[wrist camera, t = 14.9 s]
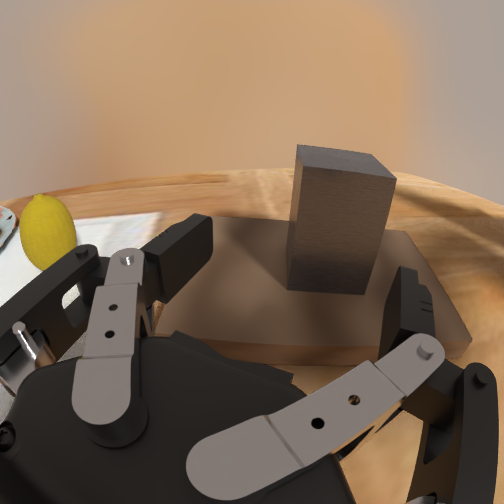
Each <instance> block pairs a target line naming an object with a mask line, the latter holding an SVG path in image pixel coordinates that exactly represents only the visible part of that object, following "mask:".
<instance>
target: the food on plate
mask: <svg viewBox="0 0 504 504" xmlns="http://www.w3.org/2000/svg"><path fill="white" fill-rule="evenodd" d="M11 215H12V218H11V219H9V220H7V219H8V217H10V216H11ZM16 219H17V217H16V215H15V214H13V212H11V211H10V209H7V208H5V207H2V206H0V247H1V246H2V245H3V244H4V243H3V242H4V241H5V240H6V238H7V237H8V236H9V235H10V233H12V229H13V228H15V227H16V225H15V223H16Z"/></svg>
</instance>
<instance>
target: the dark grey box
mask: <svg viewBox="0 0 504 504" xmlns="http://www.w3.org/2000/svg"><path fill="white" fill-rule="evenodd" d="M396 180H397V178H396V177H395V176H394V175H393V174H392V173H391V172H389V171H388V170H387V169H386V168H385V167H384V166H383V165H382V164H381V163H380V162H379V161H378V160H377V159H376V158H375V157H373V156H372V155H371V154H366V153H360V152H354V151H347V150H340V149H332V148H324V147H315V146H307V145H297V151H296V162H295V172H294V182H293V191H292V200H291V209H290V218H289V227H288V235H287V244H286V266H287V290H290V291H304V292H318V293H333V294H350V295H365V292H366V289H367V286H368V283H369V280H370V276H371V273H372V270H373V267H374V264H375V261H376V257H377V254H378V250H379V247H380V244H381V240H382V236H383V233H384V229H385V225H386V222H387V218H388V214H389V210H390V206H391V202H392V198H393V193H394V189H395V185H396Z"/></svg>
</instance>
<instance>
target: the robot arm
mask: <svg viewBox="0 0 504 504" xmlns="http://www.w3.org/2000/svg"><path fill="white" fill-rule="evenodd" d="M212 253H213V220H212V218H211V217H209V216H205V215H201V214H196V213H195V214H193V215H191V216H190V217H189V218H187V219H186V220H184V221H182V222H179V223H177V224H174V225H172V226H170V227H169V228H167V229H166V230H165V231H164V232H162V233H161V234H159V236H157V237H155V238H154V239H152V240H151V241H150V242H148V243H147V244H146V245H144V246H143V247H142V248H140V249H136V248H126V249H122V250H119V251H117V252H116V253H114V254H113V255H112V256H111V257H100V256H99V255H98V250H97V247H96V246H94V245H91V244H85V245H80V246H78V247H75V248H74V249H72V250H71V251H69V252H68V253H67V254H65V255H64V256H63V257H61V258H60V259H59V260H57V261H56V262H55V263H53V264H52V265H51V266H50V267H48V268H47V269H46V270H44V271H43V272H42V273H41V274H39V275H38V276H37V277H36V278H34V279H33V280H32V281H31V282H30V283H28V284H27V285H26V286H25V287H23V288H22V289H21V290H20V291H19V292H17V293H16V294H15V295H14V296H13V297H12V298H10V299H9V300H8V301H7V302H6V303H5V304H4V305H2V306H1V307H0V384H2V385H3V386H4V388H5V389H6V390H7V391H8V392H9V393H10V395H11V396H13V397H15V400H14V402H13V405H12V407H11V409H10V411H9V413H8V415H7V417H6V418H5V420H4V422H3V423H2V424H1V425H0V504H356V502H355V499H354V497H353V494H352V492H351V490H350V487H349V485H348V482H347V480H346V477H345V475H344V473H343V470H342V468H341V465H340V463H341V462H342V461H344V460H345V459H347V458H348V457H349V456H351V455H352V454H353V453H355V452H356V451H357V450H358V449H360V448H361V447H362V446H363V445H364V444H365V443H367V442H368V441H369V440H370V439H371V438H373V437H374V436H375V435H376V434H378V433H379V432H380V431H381V430H382V429H384V428H385V427H386V426H387V425H389V424H390V423H391V422H392V421H393V420H394V419H396V418H397V417H398V416H399V415H400V414H401V413H402V412H403V411H407V412H408V413H410V414H412V415H414V416H415V417H417V418H419V419H421V420H423V421H424V422H423V429H422V435H421V441H420V446H419V451H418V456H417V461H416V465H415V470H414V474H413V478H412V482H411V486H410V490H409V493H408V497H407V500H406V503H405V504H493V500H494V493H495V485H496V476H497V464H498V442H499V418H498V396H497V383H496V379H495V376H494V374H493V373H492V371H491V370H490V369H489V368H488V367H487V366H485V365H483V364H481V363H475V362H474V363H471V364H469V365H467V367H466V368H465V369H462V368H460V367H458V366H456V365H455V364H453V363H451V362H449V361H448V360H447V359H445V351H444V348H443V346H442V345H441V343H440V342H439V341H438V340H437V339H436V335H435V322H434V314H433V312H434V311H433V306H432V305H433V302H432V295H431V293H430V291H429V290H428V288H427V286H426V285H422V284H419V281H418V271H417V270H415V269H412V268H408V267H405V266H401V265H400V266H399V267H398V270H397V272H396V275H395V278H394V280H393V283H392V286H391V288H390V291H389V294H388V296H387V299H386V302H385V306H384V312H383V321H382V330H381V339H380V346H379V353H378V360H377V362H376V363H373V362H372V361H371V360H367V361H365V362H363V363H361V364H360V365H358V366H357V367H355V368H354V369H352V370H350V371H349V372H347V373H346V374H344V375H342V376H341V377H339V378H337V379H336V380H334V381H332V382H331V383H329V384H327V385H326V386H324V387H322V388H320V389H319V390H317V391H315V392H313V393H312V394H310V395H308V396H307V395H306V394H305V393H304V392H303V391H301V390H300V389H299V388H297V387H296V386H294V385H293V384H291V382H292V379H293V375H294V374H292V373H289V372H286V371H283V370H280V369H277V368H274V367H271V366H268V365H265V364H262V363H254V362H247V361H240V360H234V359H228V358H226V357H224V356H223V355H221V354H220V353H218V352H217V351H216V350H214V349H213V348H211V347H210V346H208V345H207V344H206V343H204V342H203V341H201V340H199V339H196V338H194V337H192V336H189V335H187V334H184V333H182V332H180V331H177V330H175V331H174V333H173V334H172V335H171V336H170V337H162V336H155V332H154V305H153V303H154V302H155V301H156V300H158V301H160V302H162V303H165V304H167V303H168V302H169V301H170V300H171V299H172V298H173V297H174V296H175V295H176V294H177V293H178V292H179V291H180V290H181V289H182V288H183V287H184V286H185V285H186V284H187V283H188V282H189V281H190V280H191V279H192V278H193V277H194V276H195V275H196V274H197V273H198V272H199V271H200V270H201V268H202V267H203V266H204V265H205V264H206V263H207V262H208V261H209V260H210V258H211V256H212ZM75 284H76V285H77V287H78V290H79V293H80V295H79V296H78V297H77V298H76V299H75V300H74V301H73V302H72V303H71V304H70V305H69V306H67V307H66V308H65V309H63V306H62V298H63V296H64V294H65V293H66V292H67V291H69V290H70V289H71V288H72V287H73V286H74V285H75ZM86 330H87V334H86V339H85V345H84V351H83V355H82V356H79V357H75V358H72V359H68V360H65V361H61V362H57V361H58V360H59V359H60V358H61V357H62V356H63V355H64V353H65V352H66V351H67V350H68V349H69V348H70V347H71V346H72V345H73V344H74V343H75V342H76V341H77V340H78V339H79V337H80V336H81V335H82V334H83V333H84V332H85V331H86ZM56 362H57V363H56Z"/></svg>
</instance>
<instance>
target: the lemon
mask: <svg viewBox="0 0 504 504" xmlns="http://www.w3.org/2000/svg"><path fill="white" fill-rule="evenodd" d="M19 227H20V238H21V243H22V247H23V249H24V252H25V254H26V256H27V257H28V259H29V260H30V261H31V262H32V264H33V265H34V266H36V267H37V268H39V269H41V270H46V269H47V268H48V267H50V266H51V265H52V264H53V263H55V262H56V261H57V260H59V259H60V258H61V257H63V256H64V255H65V254H67V253H68V252H69V251H71V250H72V249H74V248H75V247H76V241H77V238H76V230H75V226H74V222H73V219H72V217H71V215H70V213H69V211H68V209H67V207H66V206H65V205H64V204H63V203H62V202H61V201H60V200H59V199H57V198H55V197H52V196H46V195H42V194H41V193H39V194H36V195H35V196H34V198H33V200H31V201H30V202H29V203H28V204H27V206H26V207H25V208H24V210H23V212H22V215H21V218H20V225H19Z"/></svg>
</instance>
